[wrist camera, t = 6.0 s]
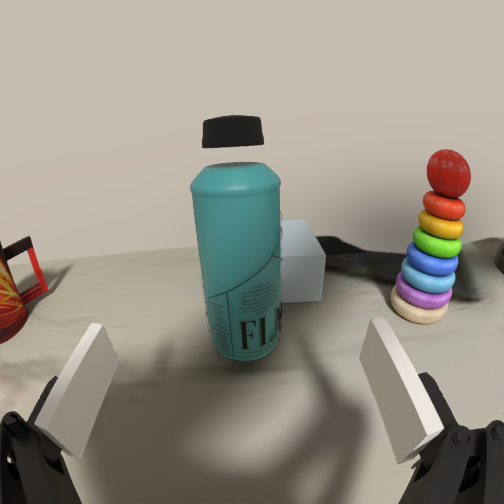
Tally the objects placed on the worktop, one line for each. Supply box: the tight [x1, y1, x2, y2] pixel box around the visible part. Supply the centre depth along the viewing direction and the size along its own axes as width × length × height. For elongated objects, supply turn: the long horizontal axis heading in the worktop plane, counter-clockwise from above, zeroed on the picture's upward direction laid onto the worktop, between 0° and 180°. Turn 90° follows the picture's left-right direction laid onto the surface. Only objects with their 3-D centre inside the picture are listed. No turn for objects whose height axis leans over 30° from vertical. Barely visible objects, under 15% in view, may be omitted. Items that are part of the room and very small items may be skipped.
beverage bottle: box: [190, 115, 283, 361], centre depth 21 cm, size 6×7×20 cm
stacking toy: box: [390, 150, 471, 324], centre depth 24 cm, size 8×8×19 cm
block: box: [280, 220, 326, 303], centre depth 35 cm, size 12×12×6 cm
